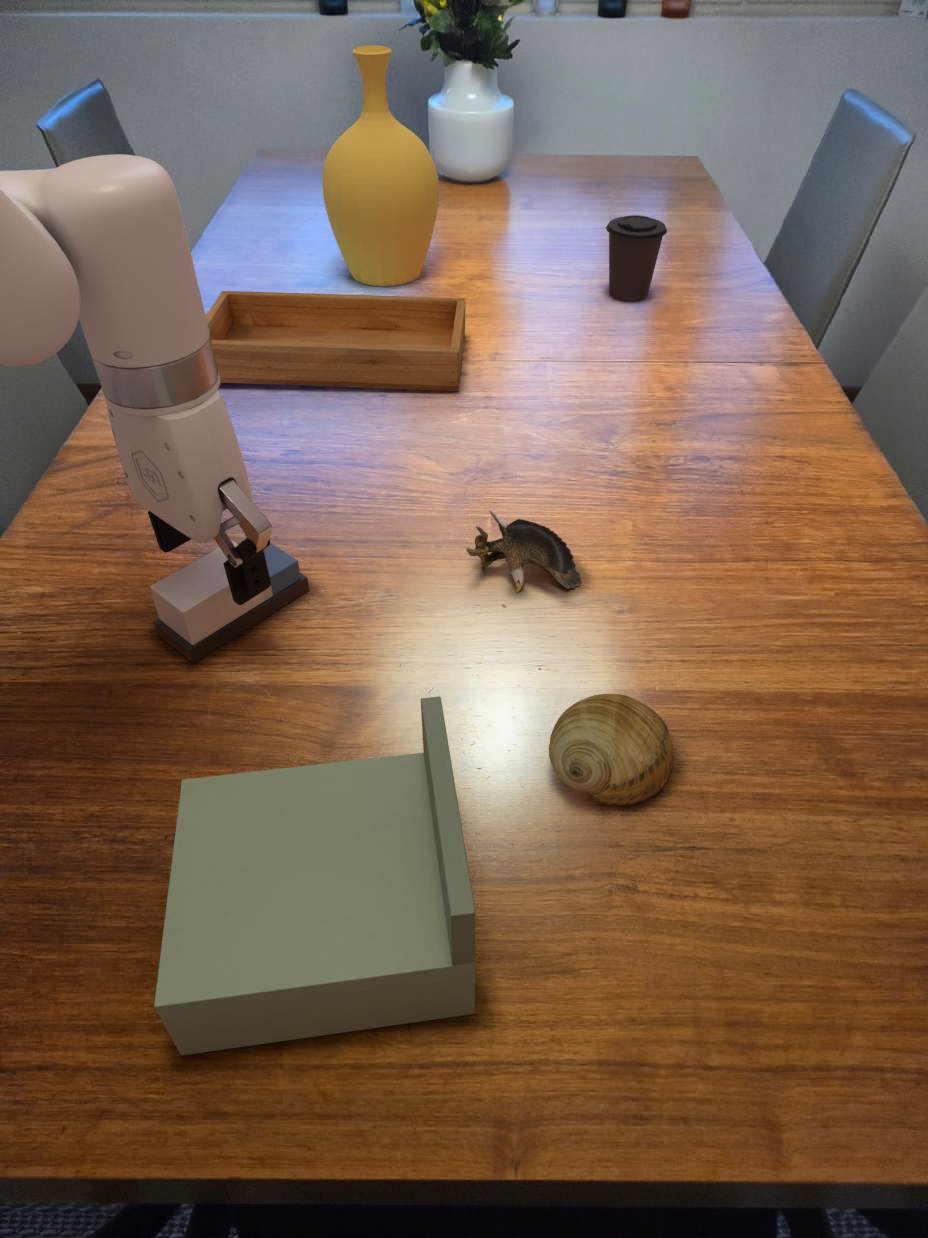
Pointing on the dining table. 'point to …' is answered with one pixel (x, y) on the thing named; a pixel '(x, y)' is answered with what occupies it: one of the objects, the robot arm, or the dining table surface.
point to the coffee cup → (633, 255)
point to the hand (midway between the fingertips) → (214, 568)
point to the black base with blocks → (219, 602)
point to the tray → (338, 340)
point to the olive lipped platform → (318, 901)
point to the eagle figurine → (528, 551)
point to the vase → (380, 187)
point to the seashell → (612, 749)
